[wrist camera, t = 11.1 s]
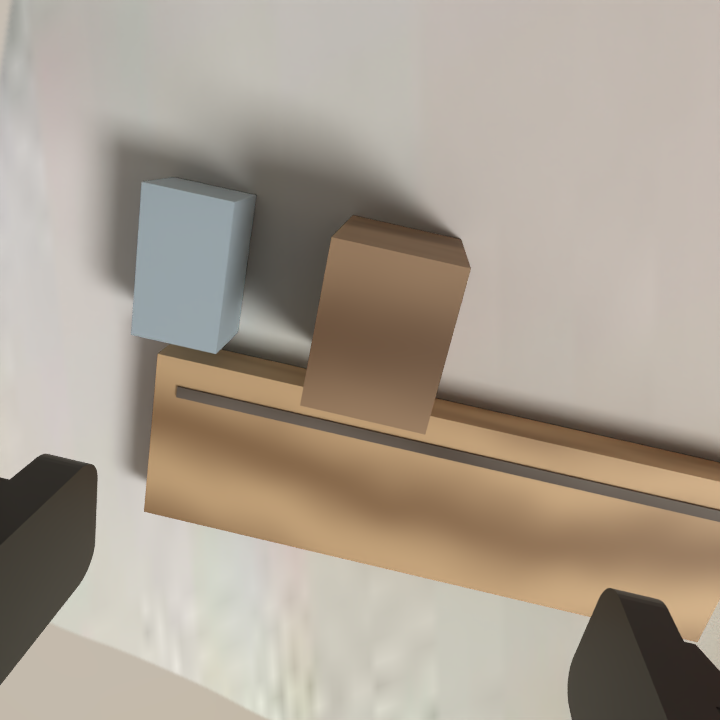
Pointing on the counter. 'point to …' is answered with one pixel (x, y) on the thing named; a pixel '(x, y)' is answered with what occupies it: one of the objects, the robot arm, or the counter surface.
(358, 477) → the oak board
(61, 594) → the robot arm
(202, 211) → the slate stop block
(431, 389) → the walnut block
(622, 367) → the counter surface
